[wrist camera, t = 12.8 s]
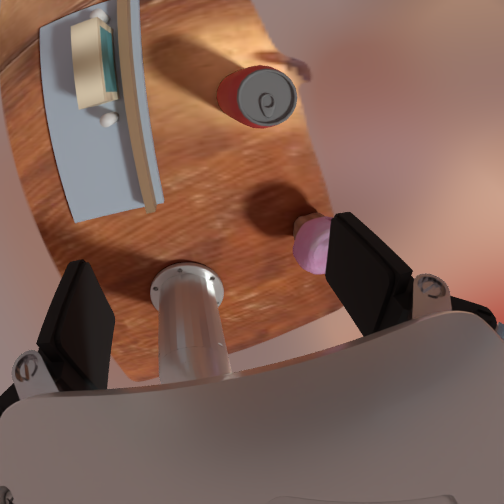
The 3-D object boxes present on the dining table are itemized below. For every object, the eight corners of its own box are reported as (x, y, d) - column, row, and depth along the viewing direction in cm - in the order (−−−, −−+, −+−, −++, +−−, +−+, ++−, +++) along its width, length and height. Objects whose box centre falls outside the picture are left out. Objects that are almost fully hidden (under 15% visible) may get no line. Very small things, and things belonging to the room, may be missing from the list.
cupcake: (324, 245, 48) (352, 280, 40) (278, 250, 46) (300, 289, 38) (332, 198, 43) (366, 228, 35) (282, 201, 41) (308, 233, 33)
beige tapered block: (120, 98, 27) (105, 100, 21) (97, 105, 26) (78, 109, 21) (113, 28, 21) (97, 16, 15) (90, 36, 21) (70, 26, 15)
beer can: (218, 121, 33) (233, 135, 23) (214, 73, 29) (228, 64, 19) (267, 117, 34) (303, 130, 24) (265, 70, 30) (301, 64, 20)
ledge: (164, 199, 37) (162, 213, 33) (77, 219, 35) (67, 234, 31) (139, -5, 20) (133, -17, 16) (42, 29, 18) (28, 24, 14)
